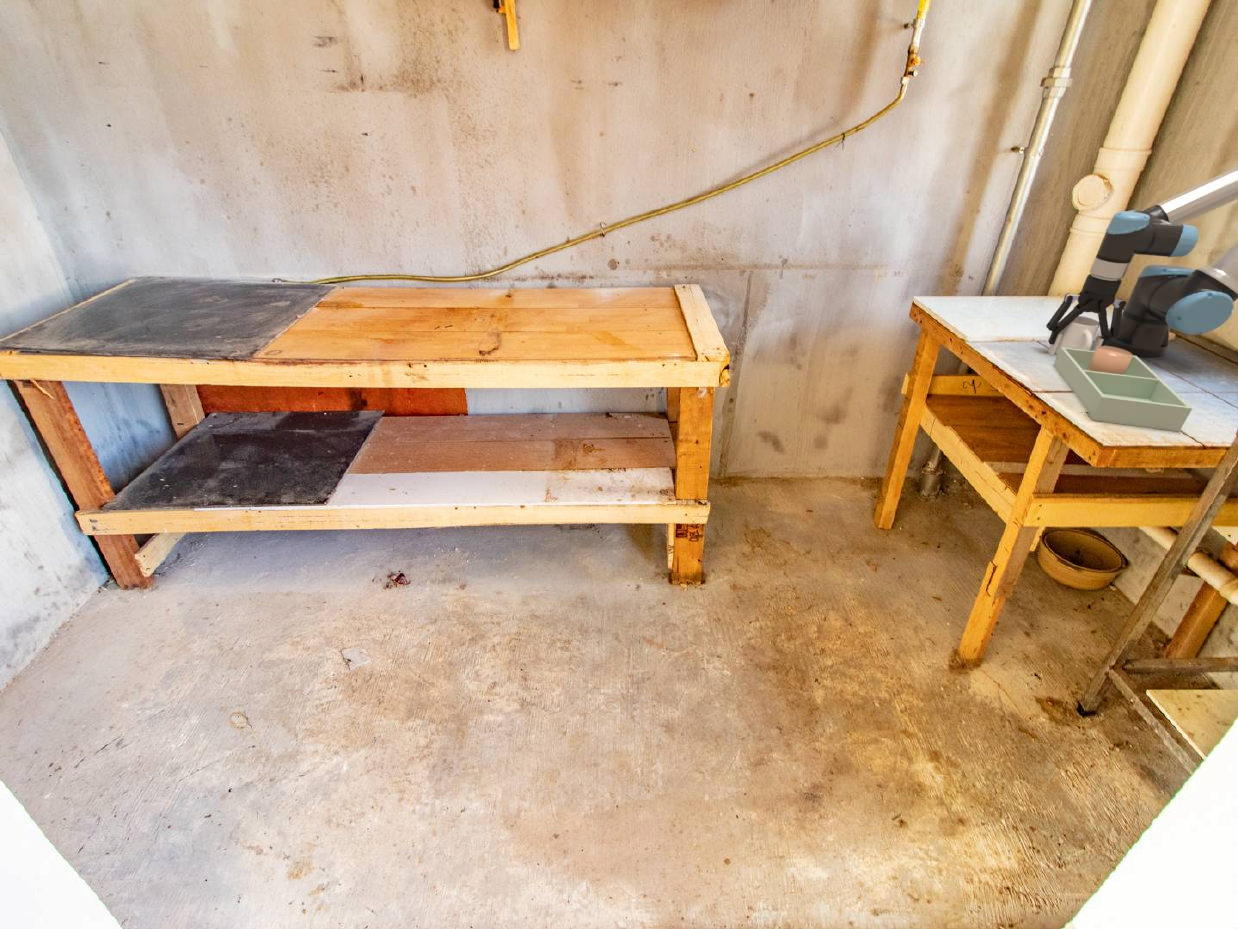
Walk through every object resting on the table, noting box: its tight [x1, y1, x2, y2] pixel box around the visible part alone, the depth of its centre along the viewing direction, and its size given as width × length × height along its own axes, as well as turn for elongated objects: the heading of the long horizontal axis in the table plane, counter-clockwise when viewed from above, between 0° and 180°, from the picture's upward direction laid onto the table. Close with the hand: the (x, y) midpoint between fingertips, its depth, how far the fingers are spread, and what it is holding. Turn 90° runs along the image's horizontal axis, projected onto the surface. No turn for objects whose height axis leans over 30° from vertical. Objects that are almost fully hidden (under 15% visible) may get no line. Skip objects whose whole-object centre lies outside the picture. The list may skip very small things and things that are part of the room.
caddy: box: [1053, 347, 1193, 432], centre depth 157 cm, size 18×30×6 cm, turn 165°
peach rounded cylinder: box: [1087, 345, 1134, 375], centre depth 162 cm, size 8×8×8 cm
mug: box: [1054, 315, 1100, 356], centre depth 176 cm, size 12×8×10 cm
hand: (1069, 357), depth 179 cm, fingers open, 9 cm apart
